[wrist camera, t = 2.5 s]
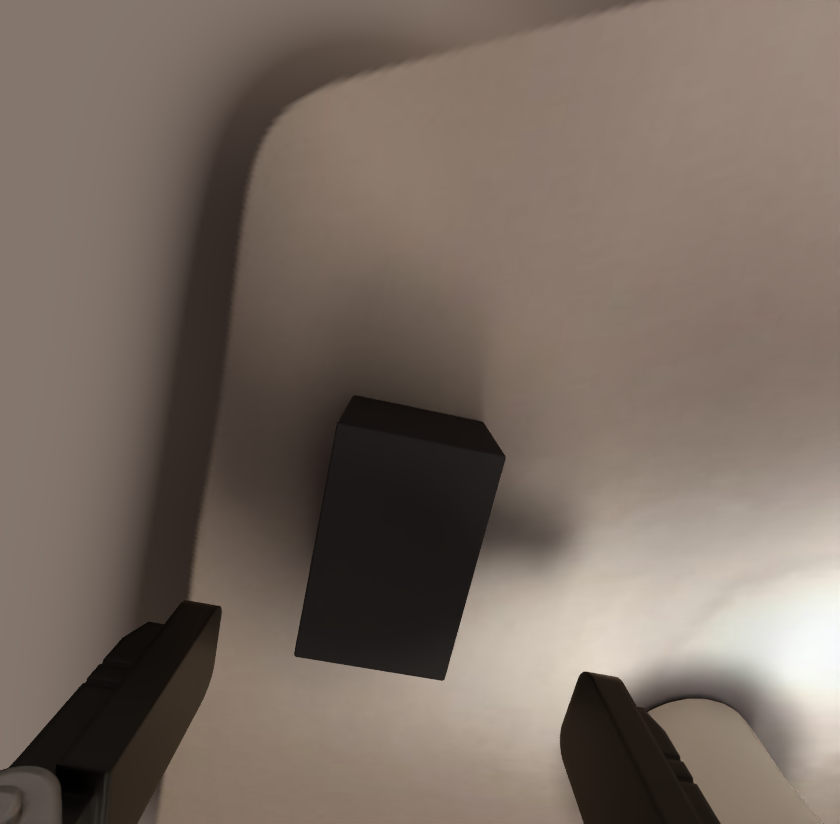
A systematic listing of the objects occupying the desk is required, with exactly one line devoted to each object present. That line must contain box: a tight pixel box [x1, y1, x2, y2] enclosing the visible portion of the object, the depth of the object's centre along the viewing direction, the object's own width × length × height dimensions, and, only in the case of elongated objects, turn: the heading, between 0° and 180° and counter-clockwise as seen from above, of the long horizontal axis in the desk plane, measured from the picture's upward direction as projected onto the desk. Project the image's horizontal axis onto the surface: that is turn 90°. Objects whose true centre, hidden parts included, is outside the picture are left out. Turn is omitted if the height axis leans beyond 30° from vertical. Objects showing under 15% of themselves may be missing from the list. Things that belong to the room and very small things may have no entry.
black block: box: [294, 396, 505, 681], centre depth 16 cm, size 8×5×4 cm, turn 168°
